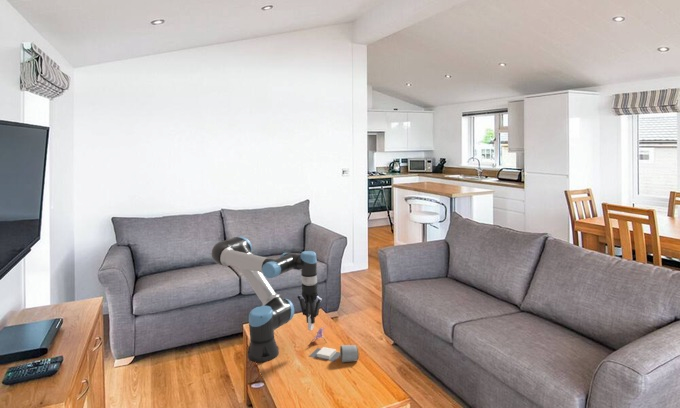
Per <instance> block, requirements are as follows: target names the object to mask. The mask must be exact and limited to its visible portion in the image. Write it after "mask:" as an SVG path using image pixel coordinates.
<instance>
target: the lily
mask: <svg viewBox="0 0 680 408" xmlns="http://www.w3.org/2000/svg"><path fill="white" fill-rule="evenodd" d="M325 328H326V326H324V327H323V328H322V327H320V328H319V329H318V331H316V335H315V336H314V338H313V339H312V340H311V341H310V343H312V342H313V341H314V340H315V339H316V340H318V339H322V340H323V341H324V342H325V343H326V344H327V343H328V342H327V341H326V339H325V338H324V336H323V335H324V334H323V333H324V329H325Z"/></svg>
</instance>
